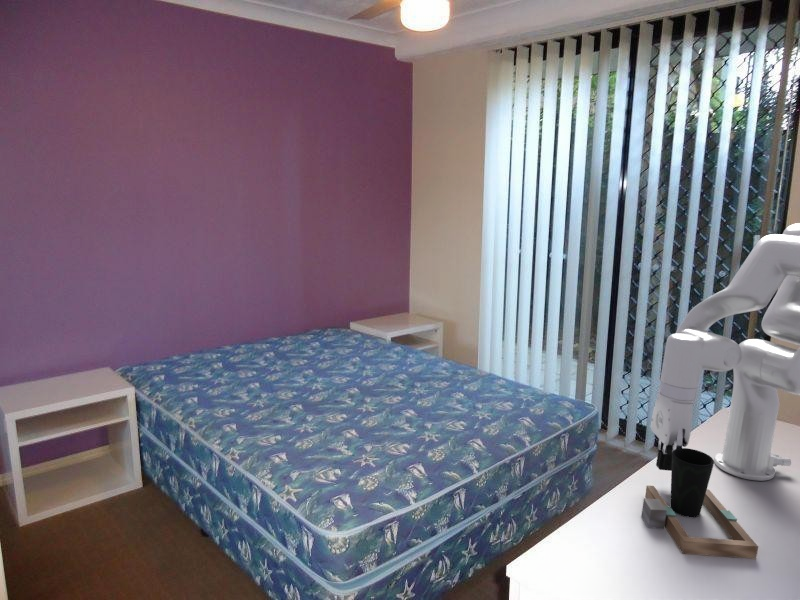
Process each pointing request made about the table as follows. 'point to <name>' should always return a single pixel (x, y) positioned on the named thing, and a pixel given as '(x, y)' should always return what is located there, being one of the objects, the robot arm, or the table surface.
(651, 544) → the table surface
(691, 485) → the cup
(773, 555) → the table surface
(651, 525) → the beam slot
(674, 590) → the table surface
